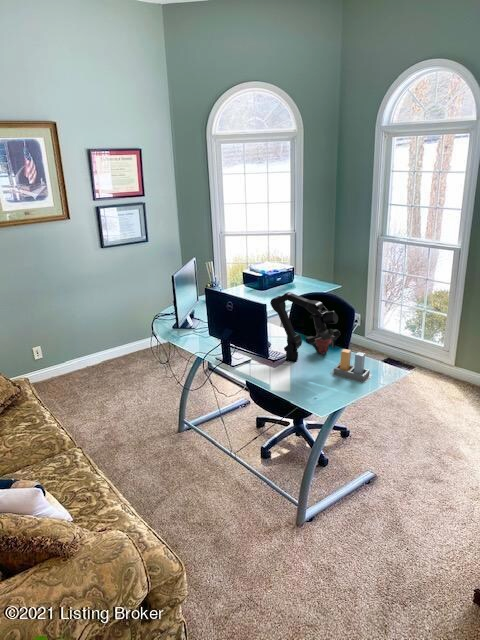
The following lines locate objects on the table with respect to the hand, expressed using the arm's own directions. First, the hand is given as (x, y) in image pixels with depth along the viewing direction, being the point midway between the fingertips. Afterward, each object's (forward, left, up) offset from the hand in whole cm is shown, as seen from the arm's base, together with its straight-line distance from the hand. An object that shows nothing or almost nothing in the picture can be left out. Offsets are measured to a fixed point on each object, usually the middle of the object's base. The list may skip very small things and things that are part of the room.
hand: (326, 351), depth 262 cm
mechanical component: (-3, +23, -11) cm, 25 cm away
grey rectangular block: (+18, -6, -10) cm, 22 cm away
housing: (+15, -5, -11) cm, 19 cm away
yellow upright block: (+11, -3, -10) cm, 15 cm away
